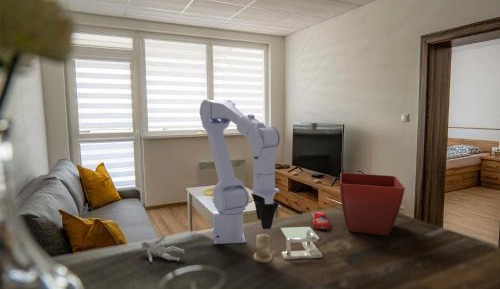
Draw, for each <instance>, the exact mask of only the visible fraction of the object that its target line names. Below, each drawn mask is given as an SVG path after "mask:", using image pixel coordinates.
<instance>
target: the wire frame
mask: <svg viewBox="0 0 500 289" xmlns="http://www.w3.org/2000/svg"><path fill="white" fill-rule="evenodd" d="M317 241H318V240H317V238H316V237H315V236H314V234H313V233H312V232H311V231H310V230H307V233H306V238H294V239H286V240H285V243H286V244H285V246H286V248H285V250H284V251H281V256H282V258H283V260H295V259H296V260H297V259H299V260H302V259H318V258H320V259H321V258H323V254H322V252H321V251H320V250H319V248H317V246H316V245H315V243H314V242H317ZM292 243H301V245H302V247H303V248H304V250H291V246H292Z"/></svg>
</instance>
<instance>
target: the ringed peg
mask: <svg viewBox="0 0 500 289" xmlns="http://www.w3.org/2000/svg"><path fill="white" fill-rule="evenodd" d="M255 238H256V239H255V240H256V241H255V242H256V243H255V246H256V248H255V249H256V250H255V252H254V253H253V260H254V261H256V262H258V263H268V262H271V261H272V259H273V254H272V253H271V252H270V250H271V249H270V247H271V246H270V244H271V242H270V241H271V236H270V235H269V234H267V233H260V234H256V237H255Z"/></svg>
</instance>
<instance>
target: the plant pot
mask: <svg viewBox="0 0 500 289" xmlns="http://www.w3.org/2000/svg"><path fill="white" fill-rule="evenodd" d="M339 177H340V178H339V191H340V200H341V206H342V214H343V218H344V221H345V226H346V229H347V231H348V232H353V233H363V234H372V235H373V234H374V235H380V236H381V235H382V236H389V235H390V234H391V231H392V230H393V227H394V225H395V223H396V220H397V217H398V215H399V212H400V210H401V206H402V202H403V197H404V194H405V191H406V190H405V189H406V188H405V186H404V185H403V184H402V182H400V180H399V179H398V178H397V177H396V176H395V175H384V174H383V175H382V174H367V173H351V172H350V173H349V172H340V174H339Z"/></svg>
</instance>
